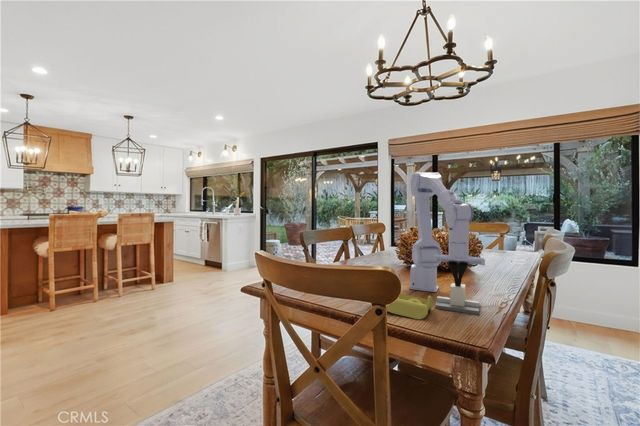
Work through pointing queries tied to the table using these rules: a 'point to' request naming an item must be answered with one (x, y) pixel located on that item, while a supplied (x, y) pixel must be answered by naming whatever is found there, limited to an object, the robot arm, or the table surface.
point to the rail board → (468, 308)
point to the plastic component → (411, 306)
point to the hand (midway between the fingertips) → (458, 286)
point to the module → (457, 295)
